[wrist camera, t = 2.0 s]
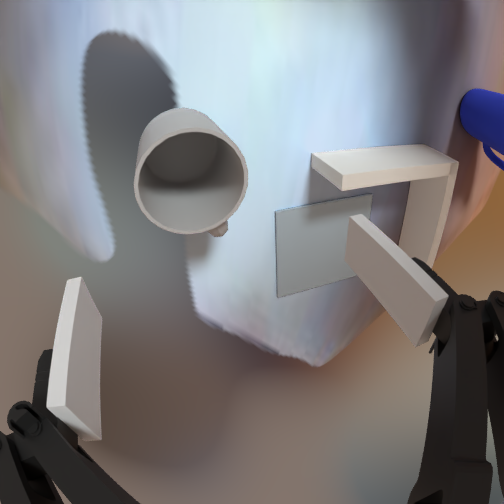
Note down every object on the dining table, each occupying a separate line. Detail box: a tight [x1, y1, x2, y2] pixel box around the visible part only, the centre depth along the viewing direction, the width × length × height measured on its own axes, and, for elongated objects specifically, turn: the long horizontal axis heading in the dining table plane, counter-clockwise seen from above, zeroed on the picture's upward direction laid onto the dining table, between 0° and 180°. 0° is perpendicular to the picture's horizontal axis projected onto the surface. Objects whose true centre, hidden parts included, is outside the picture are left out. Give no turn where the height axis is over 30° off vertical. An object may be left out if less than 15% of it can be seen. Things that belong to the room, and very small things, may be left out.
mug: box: [460, 89, 504, 170], centre depth 29 cm, size 8×12×10 cm
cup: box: [134, 108, 248, 237], centre depth 24 cm, size 7×10×9 cm
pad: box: [275, 194, 373, 298], centre depth 37 cm, size 12×12×1 cm
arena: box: [311, 144, 459, 269], centre depth 34 cm, size 17×16×6 cm
